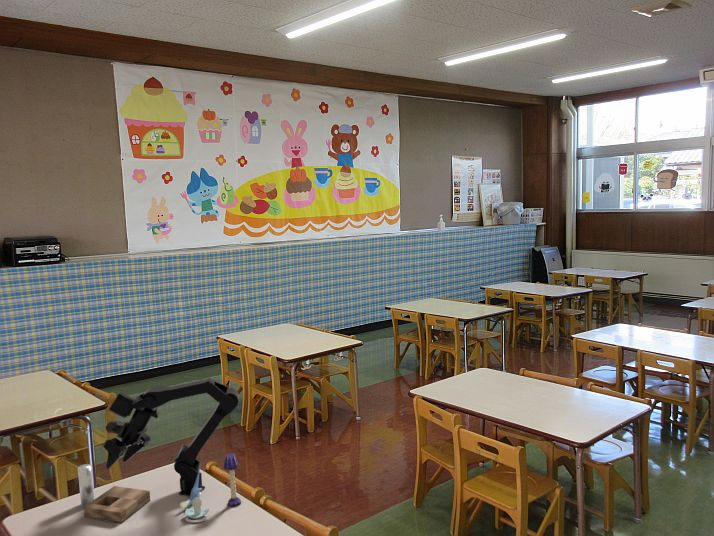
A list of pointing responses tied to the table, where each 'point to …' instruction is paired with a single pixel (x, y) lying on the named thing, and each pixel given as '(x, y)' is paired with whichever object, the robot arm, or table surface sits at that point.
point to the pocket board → (117, 504)
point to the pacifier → (196, 511)
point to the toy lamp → (232, 478)
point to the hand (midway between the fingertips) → (115, 464)
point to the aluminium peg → (85, 484)
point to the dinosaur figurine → (192, 494)
